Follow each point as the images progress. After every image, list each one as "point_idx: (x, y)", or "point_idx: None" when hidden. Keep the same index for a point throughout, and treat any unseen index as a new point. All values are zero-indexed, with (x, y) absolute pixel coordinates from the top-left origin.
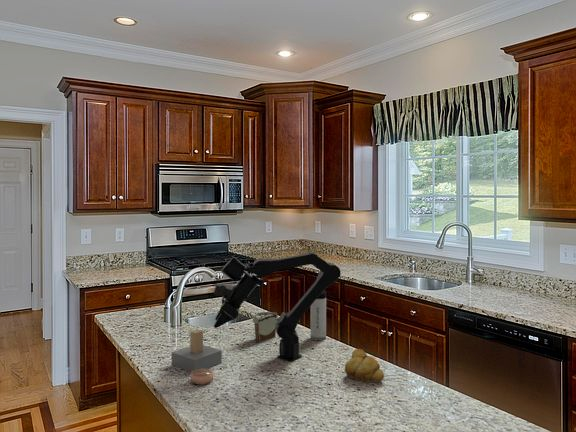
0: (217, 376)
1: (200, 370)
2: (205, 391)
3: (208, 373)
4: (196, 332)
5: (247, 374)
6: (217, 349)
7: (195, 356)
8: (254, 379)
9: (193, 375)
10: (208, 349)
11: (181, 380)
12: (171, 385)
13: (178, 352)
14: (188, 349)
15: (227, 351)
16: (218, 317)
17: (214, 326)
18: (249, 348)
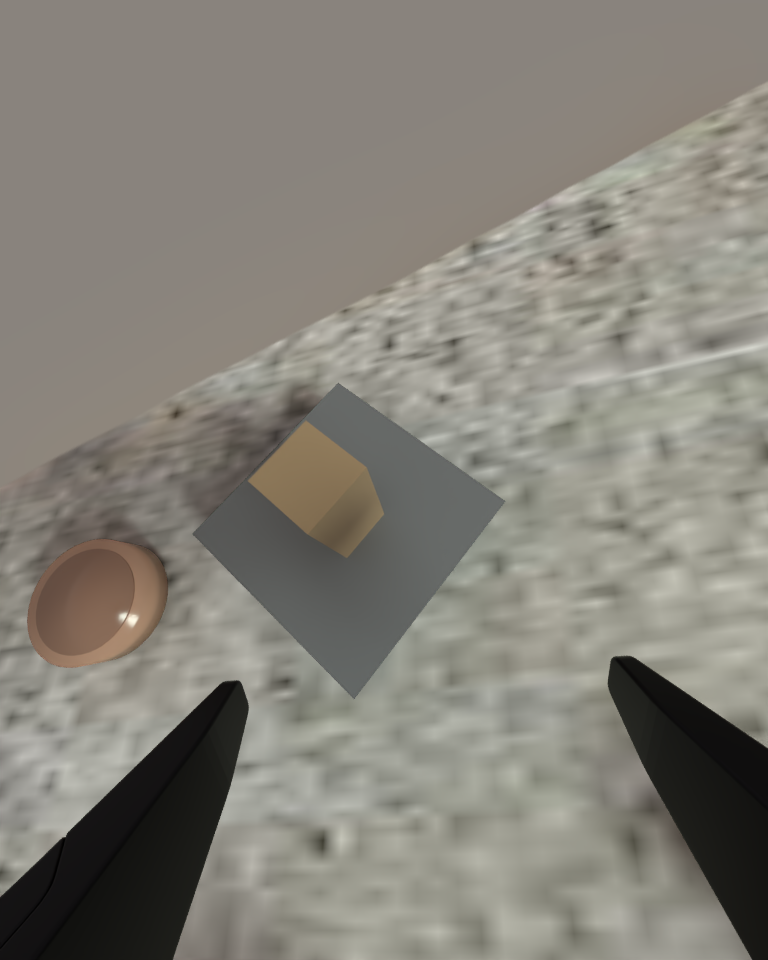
0: (171, 675)
1: (114, 586)
2: (12, 634)
3: (60, 640)
4: (268, 481)
5: None
6: (375, 662)
7: (253, 527)
8: None
9: (63, 560)
10: (378, 592)
11: (161, 501)
12: (119, 472)
13: (331, 418)
14: (382, 461)
15: (583, 700)
16: (88, 854)
17: (219, 693)
18: (686, 901)
